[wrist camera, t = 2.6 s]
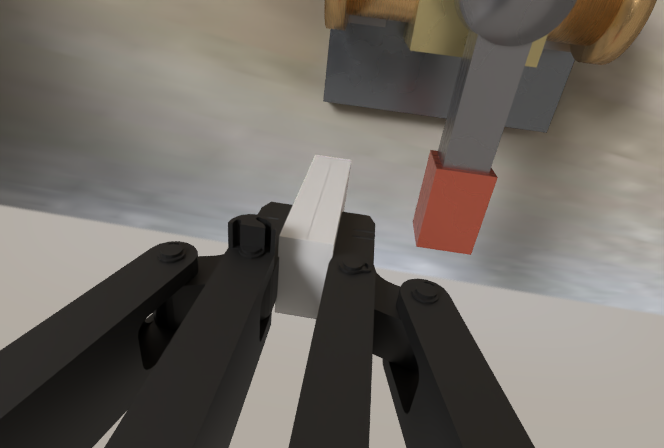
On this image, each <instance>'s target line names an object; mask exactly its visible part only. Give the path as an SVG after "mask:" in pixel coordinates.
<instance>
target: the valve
mask: <svg viewBox="0 0 664 448" xmlns="http://www.w3.org/2000/svg"><path fill="white" fill-rule="evenodd" d="M656 1H657V0H577V1H576V3H575V5H574V7H573V8H572V10H571V11H570V13H569V14H568V16H567V17H566V18H565V19H564V20H563V21H562V22H561V23H560V24H559V25H558V26H557V27H556V28H555V29H554V30H553V31H551V32H550V33H549V34H547V35H546V36H544V37H542V38H541V39H538V40H536V41H534V42H532V45H531V48H530V51H529V54H528V57H527V60H526V63H525V66H524V69H523V72H522V75H521V78H520V81H519V84H518V87H517V90H516V94H515V97H514V100H513V103H512V106H511V109H510V112H509V115H508V118H507V121H506V124H505V127H510V128H518V129H525V130H532V131H539V132H546V133H547V130H548V128H549V125H550V122H551V120H552V117H553V115H554V112H555V109H556V107H557V104H558V102H559V99H560V97H561V94H562V91H563V89H564V86H565V84H566V81H567V79H568V76H569V73H570V71H571V68H572V66H573V63H574V60H576V61H578V62H583V63H591V64H598V65H603V64H607V63H610V62H611V61H613V60H615V59H616V58H618V57H619V56H620V55H621V54H622V53H623V52H624V51H625V50H626V49H627V48H628V47H629V46H630V45H631V44H632V42H633V41H634V40H635V39H636V37H637V36H638V34H639V33H640V31H641V30H642V28H643V27H644V25H645V23H646V22H647V20H648V18H649V16H650V14H651V12H652V10H653V8H654V6H655V3H656ZM325 25H326V28H329V29H331V30H330V40H329V50H328V60H327V70H326V80H325V90H324V100H323V101H324V102H332V103H339V104H346V105H353V106H360V107H367V108H375V109H382V110H389V111H396V112H403V113H410V114H417V115H425V116H432V117H439V118H447V114H448V110H449V106H450V102H451V99H452V95H453V91H454V87H455V83H456V79H457V75H458V71H459V67H460V63H461V60H462V56H463V52H464V48H465V44H466V40H467V36H468V32H469V30H468V29H467V28H466V27H465V26H464V25H463V23H462V22H461V21H460V19H459V16H458V14H457V11H456V8H455V4H454V0H325Z"/></svg>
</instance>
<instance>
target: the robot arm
mask: <svg viewBox="0 0 664 448" xmlns="http://www.w3.org/2000/svg"><path fill="white" fill-rule="evenodd" d="M350 166H351V160H349V159H342V158H335V157H329V156H322V155H315V156H314V159H313V161H312V163H311V165H310V168H309V170H308V172H307V174H306V177H305V179H304V181H303V183H302V186H301V188H300V190H299V192H298V195H297V197H296V199H295V201H294V204H293V205H289V204H282V203H276V202H270V203H269V204H267V205H265V206H264V207H262V208H261V210H260V212H259V213H258V215H255V214H247V215H240V216H237V217H235V218H233V219H231V220H230V221H229V222H228V246H229V248H228V249H227V251H226V252H225V254H223V255H217V256H199V257H198V252H197V250H196V248H195V247H194V246H192V245H190V244H188V243H184V242H177V241H175V242H166V243H162V244H159V245H157V246H155V247H152V248H151V249H149V250H148V251H146V252H145V253H143V254H142V255H140V256H139V257H138V258H136V259H135V260H133V261H132V262H130V263H129V264H127V265H126V266H124V267H123V268H121V269H120V270H118V271H117V272H115V273H114V274H112V275H111V276H109V277H108V278H107V279H105V280H104V281H102V282H101V283H99V284H98V285H96V286H95V287H93V288H92V289H90V290H89V291H87V292H86V293H84V294H83V295H81V296H80V297H79V298H77V299H76V300H74V301H73V302H71V303H70V304H68V305H67V306H65V307H64V308H62V309H61V310H59V311H58V312H56V313H55V314H53V315H52V316H51V317H49V318H48V319H46V320H45V321H43V322H42V323H40V324H39V325H37V326H36V327H34V328H33V329H31V330H30V331H28V332H27V333H25V334H24V335H22V336H21V337H20V338H18V339H17V340H15V341H14V342H12V343H11V344H9V345H8V346H6V347H5V348H3V349H2V350H0V448H92V447H93V446H94V445H95V444H96V443H97V442H98V441H99V440H100V439H101V438H102V437H103V436H104V434H105V433H106V432H107V431H108V430H109V429H110V428H111V427H112V426H113V425H114V424H115V423H116V422H117V421H118V420H119V418H120V417H121V416H122V415H123V414H124V413H125V412H126V411H127V412H126V414H125V415H124V417H123V418H122V420H121V422H120V423H119V425H118V427H117V428H116V430H115V431H114V433H113V435H112V436H111V438H110V439H109V441H108V443H107V444H106V446H105V447H104V448H228V447H229V445H230V442H231V439H232V436H233V433H234V430H235V427H236V424H237V421H238V418H239V416H240V413H241V410H242V407H243V404H244V401H245V398H246V395H247V392H248V390H249V387H250V384H251V381H252V378H253V375H254V372H255V369H256V366H257V363H258V361H259V357H260V355H261V352H262V349H263V346H264V343H265V340H266V337H267V334H268V331H269V329H270V325H271V314H272V313H271V312H272V308H273V306H274V304H275V312H277V313H283V314H289V315H295V316H301V317H307V318H314V319H316V324H315V328H314V333H313V338H312V342H311V347H310V351H309V356H308V361H307V365H306V370H305V374H304V379H303V384H302V389H301V393H300V398H299V403H298V407H297V411H296V416H295V421H294V426H293V430H292V435H291V439H290V444H289V448H369V428H370V404H371V377H372V354H374V355H376V356H379V357H381V358H383V366H384V370H385V374H386V377H387V381H388V385H389V388H390V392H391V395H392V399H393V402H394V406H395V409H396V413H397V416H398V420H399V423H400V427H401V430H402V434H403V437H404V441H405V444H406V448H535V447H534V445H533V444H532V442H531V440H530V438H529V436H528V435H527V433H526V431H525V429H524V427H523V426H522V424H521V422H520V420H519V418H518V417H517V415H516V413H515V411H514V410H513V408H512V406H511V404H510V402H509V401H508V399H507V397H506V395H505V394H504V392H503V390H502V388H501V386H500V385H499V383H498V381H497V379H496V377H495V376H494V374H493V372H492V370H491V369H490V367H489V365H488V363H487V362H486V360H485V358H484V356H483V354H482V353H481V351H480V349H479V347H478V346H477V344H476V342H475V340H474V338H473V337H472V335H471V333H470V331H469V329H468V328H467V326H466V324H465V322H464V321H463V319H462V317H461V315H460V313H459V312H458V310H457V308H456V307H455V305H454V303H453V301H452V299H451V297H450V296H449V294H448V293H447V292H446V291H445V289H444V288H442V287H441V286H439V285H438V284H436V283H434V282H431V281H428V280H424V279H411V280H407V281H406V282H404V283H403V284H402V285H401V287H400V286H397V285H394V284H392V283H390V282H388V281H386V280H384V279H383V278H381V277H380V276H379V275H378V274H377V273H376V270H375V267H374V265H373V263H374V239H375V223H374V222H373V220H372V219H371V217H370V216H367V215H360V214H354V213H347V212H344V207H345V200H346V194H347V187H348V180H349V173H350ZM151 313H153V314H152V315H151V316H149V315H150V314H151ZM148 316H149V317H148ZM147 317H148V318H147ZM146 318H147V319H146Z"/></svg>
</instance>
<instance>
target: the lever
mask: <svg viewBox="0 0 664 448" xmlns="http://www.w3.org/2000/svg"><path fill="white" fill-rule="evenodd" d="M576 1H577V0H454V4H455V8H456V11H457V14H458V16H459V19H460V21H461V22H462V23H463V25H464V26H465V27H466V28H467V29H468V30H469V32H468V36H467V40H466V44H465V48H464V52H463V56H462V60H461V63H460V67H459V71H458V75H457V79H456V83H455V87H454V91H453V95H452V99H451V102H450V106H449V110H448V114H447V118H446V122H445V126H444V130H443V134H442V138H441V142H440V145H439V149H438V151H434V150H430V154H429V158H428V162H427V166H426V170H425V175H424V179H423V183H422V187H421V191H420V195H419V199H418V203H417V207H416V211H415V215H414V219H413V227H414V233H415V240H416V247H423V248H430V249H436V250H443V251H450V252H456V253H463V254H470V255H471V253H472V250H473V247H474V244H475V241H476V239H477V236H478V233H479V230H480V227H481V224H482V221H483V218H484V215H485V212H486V210H487V207H488V204H489V201H490V198H491V195H492V192H493V189H494V186H495V183H496V181H497V178H498V177H497V176H496V174H495V173H494V171H493V170H492V168H491V166H492V163H493V160H494V157H495V154H496V151H497V148H498V145H499V142H500V139H501V136H502V133H503V130H504V127H505V124H506V121H507V118H508V115H509V112H510V109H511V106H512V103H513V100H514V97H515V94H516V90H517V87H518V84H519V81H520V78H521V75H522V72H523V69H524V66H525V63H526V60H527V57H528V54H529V51H530V48H531V45H532V42H534V41H536V40H538V39H541V38H542V37H544V36H546V35H547V34H549V33H550V32H551V31H553V30H554V29H555V28H556V27H557V26H558V25H559V24H560V23H561V22H562V21H563V20H564V19H565V18H566V17H567V16H568V14H569V13H570V11H571V10H572V8H573V7H574V5H575V3H576Z"/></svg>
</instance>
